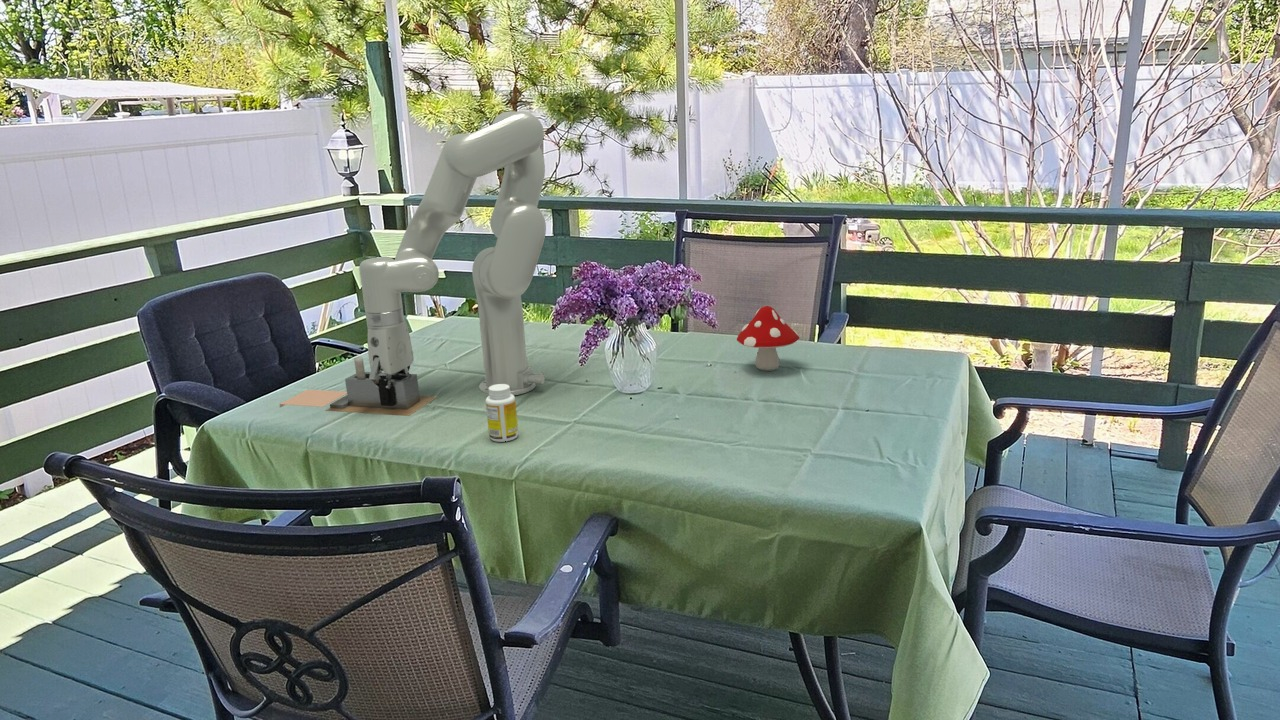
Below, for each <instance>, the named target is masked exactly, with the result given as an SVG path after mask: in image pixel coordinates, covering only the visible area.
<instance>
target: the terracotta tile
mask: <svg viewBox="0 0 1280 720" xmlns="http://www.w3.org/2000/svg"><path fill="white" fill-rule="evenodd" d="M346 395H347V391H345V390H344V391H341V390H340V391H339V390H322V389H306V390H304V391H302V392H300V393H298V394H296V395H294V396H292V397H290V398H289V399H287V400H285V401H283V402H280V403H279V408H282V407H283V406H286V405H287V406H298V407H299V406H300V407H301V406H302V407H318V408H319V407H320V408H323V407H326V406H328V405H330V404H332V403H333V402H335V401H337V400H339V399H341V398H342V397H344V396H346Z"/></svg>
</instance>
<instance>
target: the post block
mask: <svg viewBox="0 0 1280 720" xmlns="http://www.w3.org/2000/svg"><path fill="white" fill-rule="evenodd" d="M353 360H354V368H355V374H356V376H357V378H366V377H365V372H366V370H365V364H364V357H363V356H355V357H354V358H353ZM419 396H420V401H419V402H418V403H416V404H414V405H413V406H411V407H410V408H408V409H392V408H376V407H359V406H349V403H348V396H347V394H346V395H344V396H342V397H340V398H338V399H336V400H335V401H333V402H331V403H329V408H327V409H325V411H326V412H341V413H359V414H370V415H389V416H390V415H391V416H403V417H404V416H405V417H410V416H411V415H413V414H414V413H416V412H418V410H421V409H422V408H423V407H425V406H427V405H428V404H429V403H431V402H432V401H433V400H434V401H435V399H438V396H433V395H431V396H430V395H419Z"/></svg>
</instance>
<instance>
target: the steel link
mask: <svg viewBox="0 0 1280 720" xmlns="http://www.w3.org/2000/svg"><path fill="white" fill-rule="evenodd" d="M370 372H371V371H365V377H366V378H357V376H356V373H354V374H352V375H350V376H348V377H346V378H345V379H344V383H345V389H346V392H347V394H346V395H347V396H348V403H349V406H359V407H376V408H392V409H408V408H410V407H411V406H413V405H414V404H416V403H418V402H419V401H420V396H421V395H420V391H419V390H420V389H419V382H418V381H419V380H418V374H417V373H409V374H401V373H396V374H394V375H392V376H391V387H393V390H394V398H395V405H394V406H383V405H381V403H380V396H379V388H377V387H376V384H375V383H374V382H373V381H372V380H370V379H369V376H370ZM382 378H383V379H384V380H385V381H386V376H382Z"/></svg>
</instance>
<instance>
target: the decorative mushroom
mask: <svg viewBox="0 0 1280 720" xmlns="http://www.w3.org/2000/svg"><path fill="white" fill-rule="evenodd" d="M799 340H800V336H799V334H798V332H797V331H796V330H794V329H793V328H791V326H789V324H787V323H786V322H785V319H783V318H782V317H781V316H780V315H779V313H778V312H777V311H776V310H775V309H774V307H772V306H771V305H770V306H769V305H765V306H762V307H760V308H759V309H758V310H757V311H756V313H755V314H754V317H753V318H752V319H751V320H750V321H749V322H748V323H747V324H745V325H744V326H743V327H742V329H741V330H740V332H739V333H738V334H737V337H736V341H737V342H738V343H739V344H741V345H743V346H745V347H747V348H756V349H757V348H758V351H757V353H756V358H755V361H754V364H755V367H756V368H757V369H759V370H761V371H763V372H765V371H766V372H767V371H769V372H771V371H774V370H776V369H778V368H779V366H780V363H781V362H780V358H779V354H778V351H777V348H782V347H787V346H790V345H792V344H794V343H796V342H797V341H799Z"/></svg>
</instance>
